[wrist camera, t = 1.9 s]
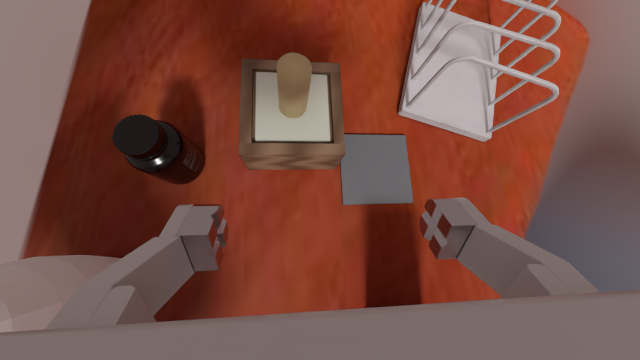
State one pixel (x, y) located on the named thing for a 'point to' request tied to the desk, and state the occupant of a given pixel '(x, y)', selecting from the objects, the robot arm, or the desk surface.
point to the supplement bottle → (158, 149)
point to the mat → (375, 170)
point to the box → (289, 152)
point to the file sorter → (466, 69)
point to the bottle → (42, 287)
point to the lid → (292, 103)
